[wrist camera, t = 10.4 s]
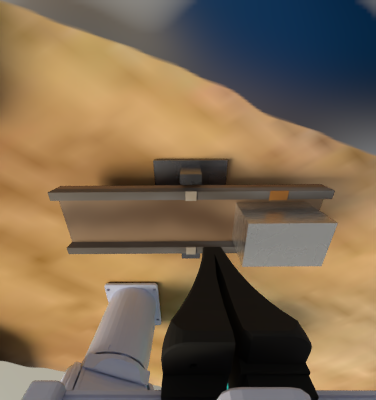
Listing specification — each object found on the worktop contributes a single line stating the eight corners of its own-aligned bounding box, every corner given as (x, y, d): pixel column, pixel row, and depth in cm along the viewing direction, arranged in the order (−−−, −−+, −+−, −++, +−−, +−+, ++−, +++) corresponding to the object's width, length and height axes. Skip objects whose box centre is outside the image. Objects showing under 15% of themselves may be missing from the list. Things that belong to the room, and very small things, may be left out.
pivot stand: (220, 240, 24) (225, 262, 20) (102, 241, 24) (86, 262, 21) (226, 159, 20) (235, 167, 16) (82, 159, 20) (58, 168, 16)
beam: (293, 232, 22) (314, 253, 19) (87, 233, 23) (68, 255, 19) (308, 178, 20) (336, 190, 16) (72, 179, 20) (46, 192, 16)
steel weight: (296, 238, 19) (321, 266, 16) (231, 239, 19) (242, 266, 16) (306, 202, 18) (337, 223, 14) (235, 202, 18) (248, 223, 14)
